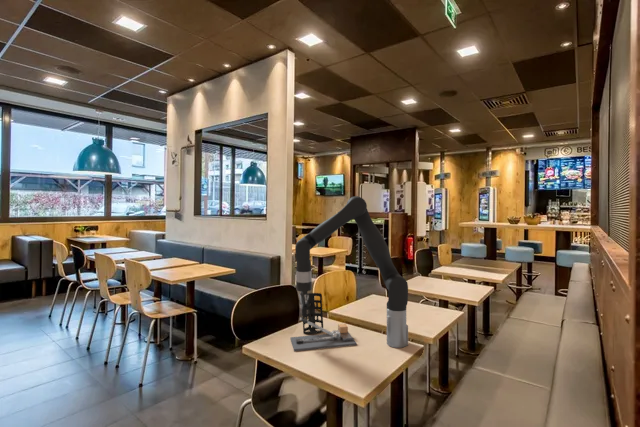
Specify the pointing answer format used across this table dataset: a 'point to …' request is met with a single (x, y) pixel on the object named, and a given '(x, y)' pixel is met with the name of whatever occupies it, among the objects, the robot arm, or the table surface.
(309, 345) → the tray
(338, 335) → the base
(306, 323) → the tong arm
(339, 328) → the tab
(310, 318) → the holder
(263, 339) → the table surface
